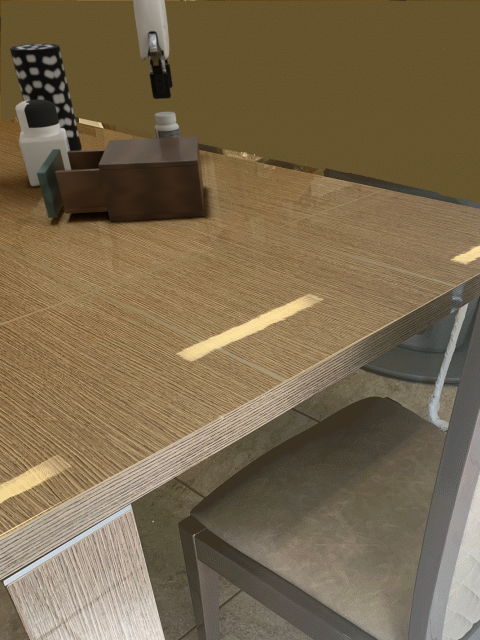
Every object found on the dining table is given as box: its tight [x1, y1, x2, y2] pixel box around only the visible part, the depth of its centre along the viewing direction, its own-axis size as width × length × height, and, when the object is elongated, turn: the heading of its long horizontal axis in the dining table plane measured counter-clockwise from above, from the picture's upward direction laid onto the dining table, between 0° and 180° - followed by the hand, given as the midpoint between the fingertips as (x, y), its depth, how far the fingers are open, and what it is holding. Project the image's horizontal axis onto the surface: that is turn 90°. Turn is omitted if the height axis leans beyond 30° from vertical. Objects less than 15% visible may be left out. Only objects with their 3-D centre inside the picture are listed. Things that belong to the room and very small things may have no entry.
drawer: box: [37, 148, 108, 219], centre depth 103 cm, size 15×13×7 cm
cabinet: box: [98, 136, 205, 223], centre depth 104 cm, size 15×15×9 cm
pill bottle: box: [154, 111, 181, 138], centre depth 126 cm, size 5×5×8 cm
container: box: [14, 100, 71, 187], centre depth 114 cm, size 8×8×13 cm
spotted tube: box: [9, 43, 83, 151], centre depth 120 cm, size 8×8×20 cm
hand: (163, 92), depth 121 cm, fingers open, 9 cm apart
